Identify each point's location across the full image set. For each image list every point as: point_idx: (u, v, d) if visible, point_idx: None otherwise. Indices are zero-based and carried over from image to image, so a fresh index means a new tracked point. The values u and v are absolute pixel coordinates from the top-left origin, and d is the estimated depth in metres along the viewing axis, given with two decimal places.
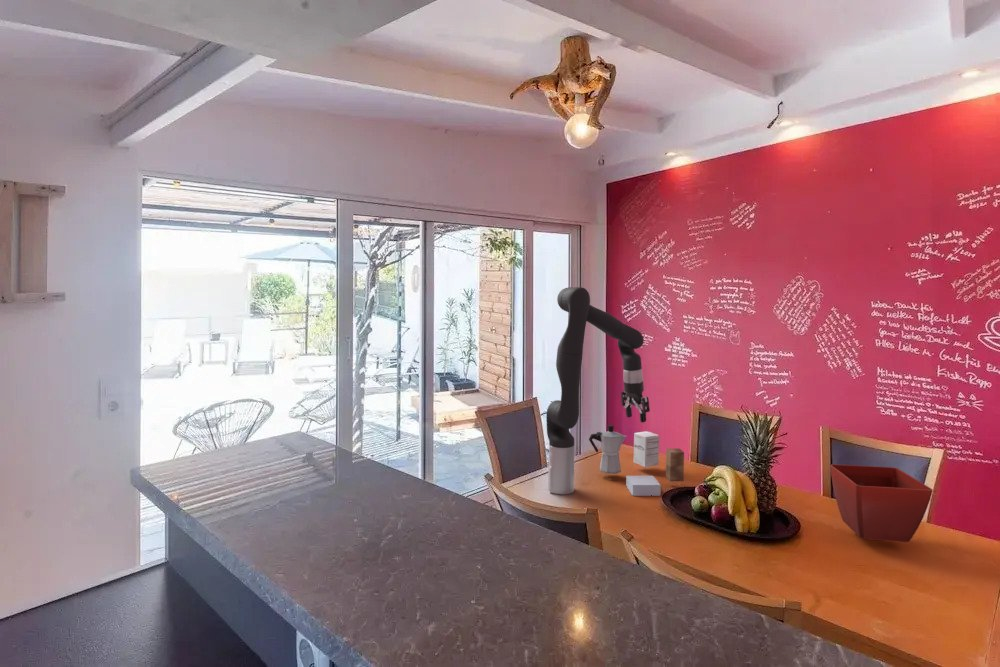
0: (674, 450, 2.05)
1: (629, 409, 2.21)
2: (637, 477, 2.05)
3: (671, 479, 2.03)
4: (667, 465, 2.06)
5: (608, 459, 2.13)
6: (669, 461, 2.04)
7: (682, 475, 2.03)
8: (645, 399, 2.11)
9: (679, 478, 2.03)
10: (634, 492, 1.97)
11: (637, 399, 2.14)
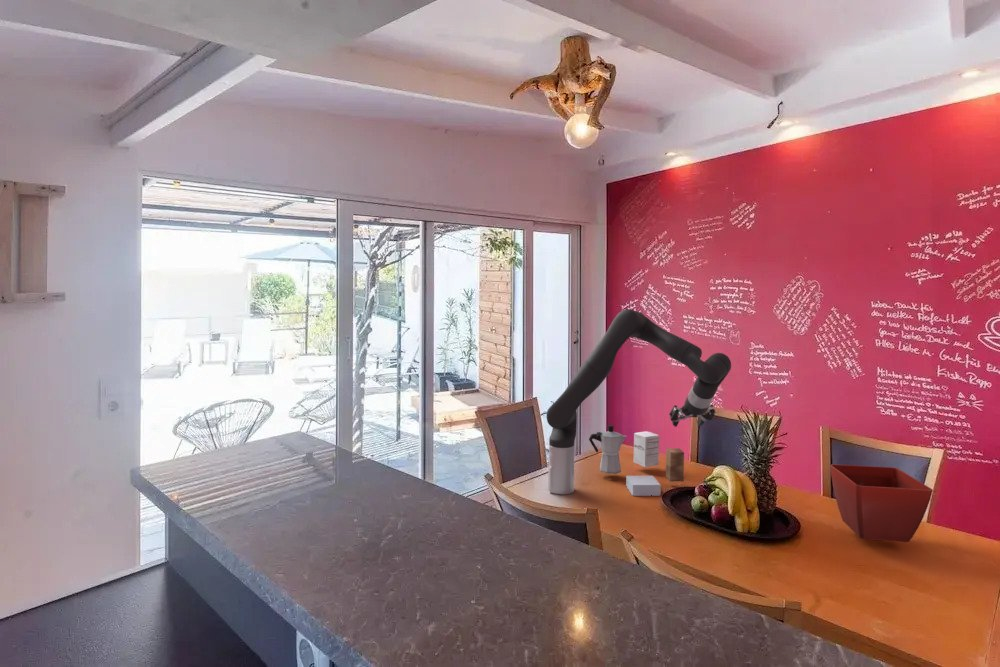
0: (674, 450, 2.05)
1: (700, 419, 1.90)
2: (637, 477, 2.05)
3: (671, 479, 2.03)
4: (667, 465, 2.06)
5: (608, 459, 2.13)
6: (669, 461, 2.04)
7: (682, 475, 2.03)
8: (674, 408, 1.86)
9: (679, 478, 2.03)
10: (634, 492, 1.97)
11: None
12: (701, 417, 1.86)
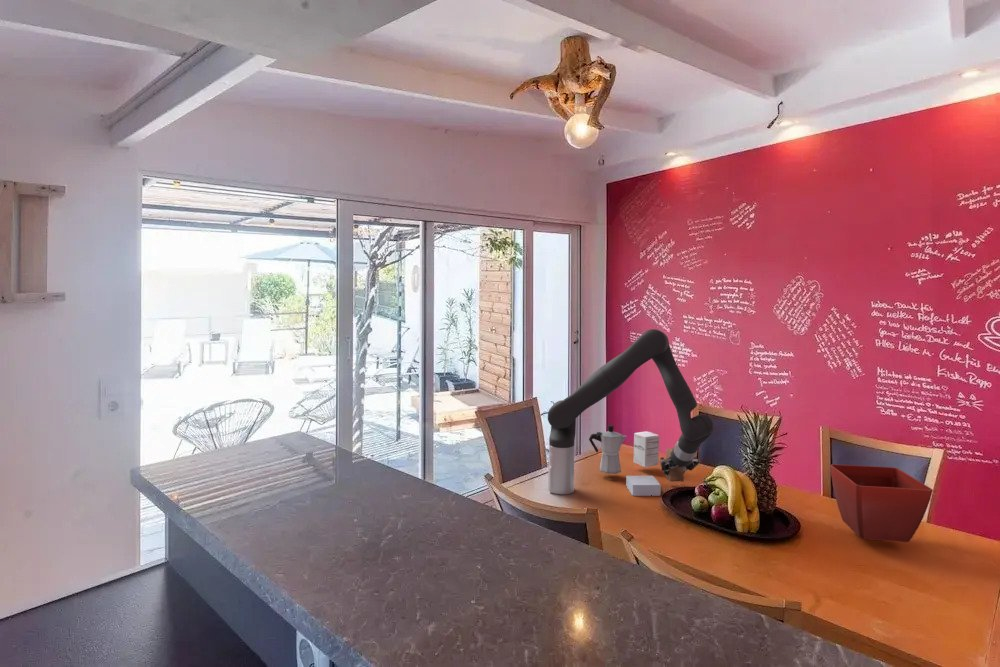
0: None
1: None
2: (637, 477, 2.05)
3: (671, 479, 2.03)
4: None
5: (608, 459, 2.13)
6: None
7: (682, 475, 2.03)
8: (661, 460, 2.01)
9: (679, 478, 2.03)
10: (634, 492, 1.97)
11: None
12: (684, 467, 2.01)
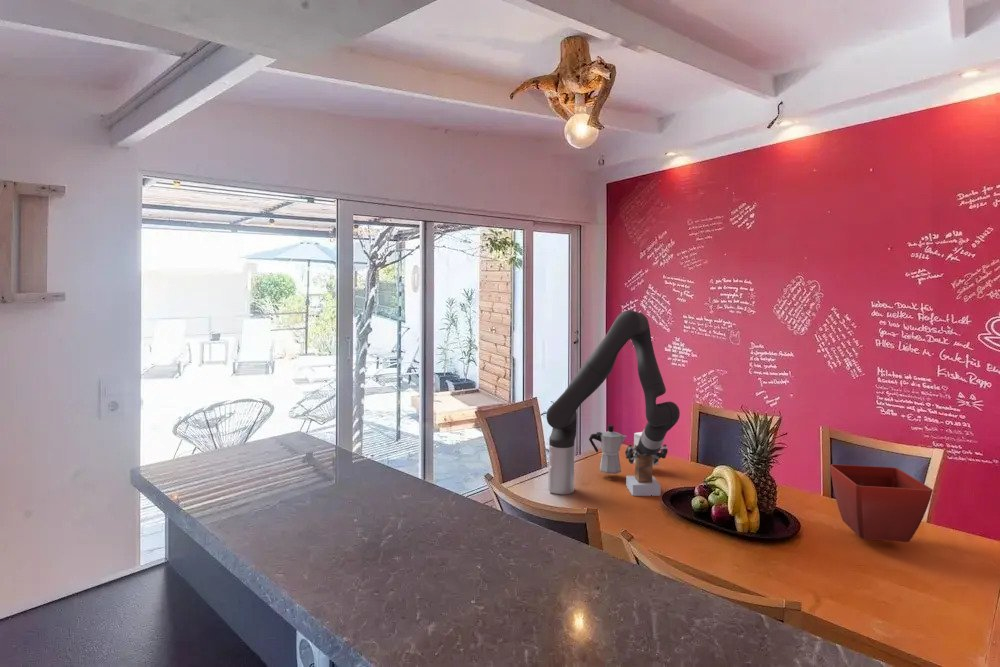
0: None
1: (654, 457, 2.00)
2: None
3: (640, 480, 1.99)
4: (636, 466, 2.02)
5: (608, 459, 2.13)
6: (638, 462, 2.00)
7: (651, 476, 1.99)
8: (628, 448, 1.95)
9: (647, 479, 1.99)
10: (634, 492, 1.97)
11: None
12: (654, 456, 1.96)
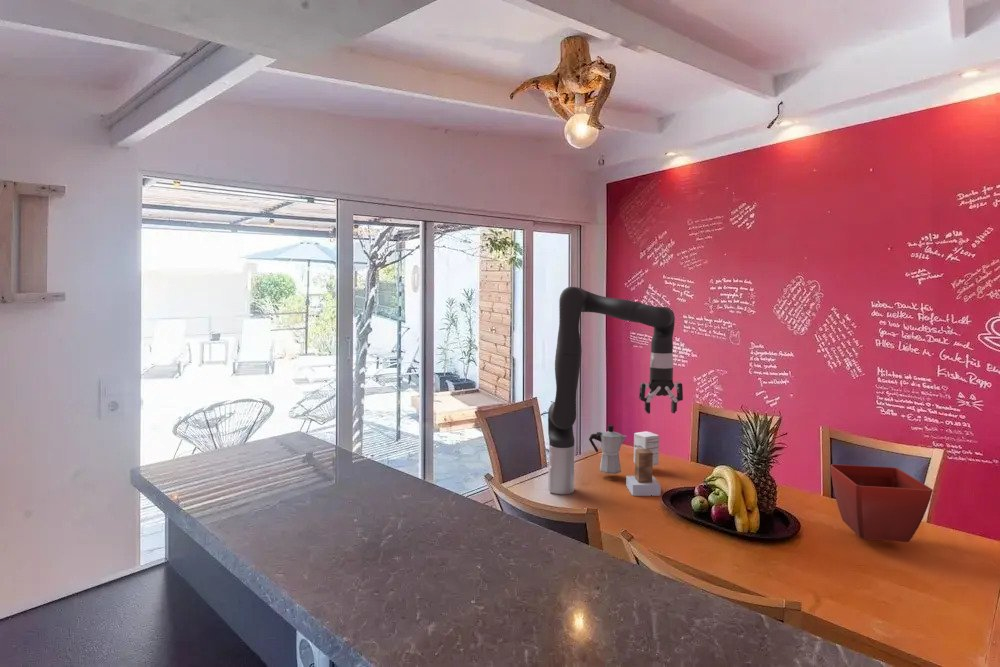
0: (643, 451, 2.01)
1: (672, 403, 1.86)
2: None
3: (640, 480, 1.99)
4: (636, 466, 2.02)
5: (608, 459, 2.13)
6: (638, 462, 2.00)
7: (651, 476, 1.99)
8: (641, 384, 1.86)
9: (647, 479, 1.99)
10: (634, 492, 1.97)
11: None
12: (670, 393, 1.84)
